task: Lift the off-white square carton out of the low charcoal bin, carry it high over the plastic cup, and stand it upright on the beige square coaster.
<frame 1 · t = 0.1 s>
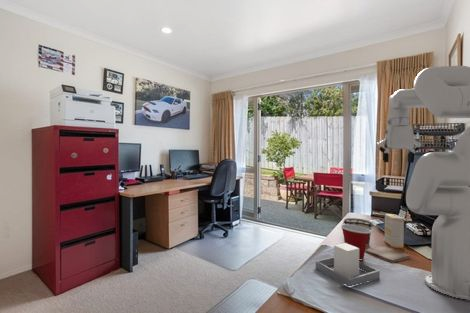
hand: (398, 162, 105), 37 cm above the table, tool pointing down, fingers open, 9 cm apart
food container: (357, 241, 113), on the table
plastic cup: (355, 258, 95), on the table
supplement box: (393, 245, 109), on the table
carton: (346, 260, 82), in the bin
bin: (346, 273, 82), on the table
beige square coaster: (387, 254, 98), on the table
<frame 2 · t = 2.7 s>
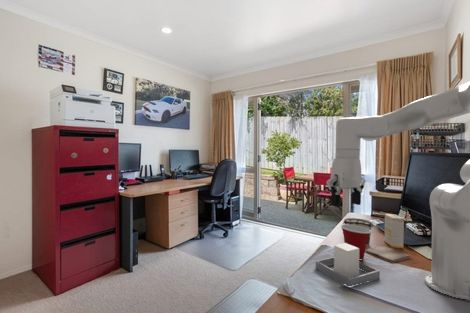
hand: (346, 205, 82), 23 cm above the table, tool pointing down, fingers open, 9 cm apart
nothing on the table moved.
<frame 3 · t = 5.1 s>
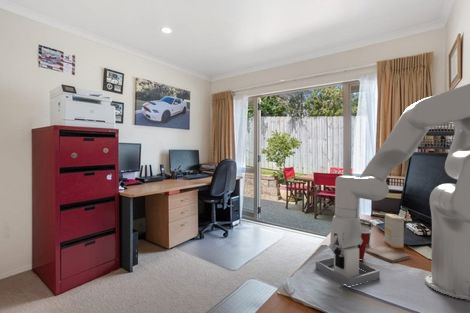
hand: (346, 264, 82), 3 cm above the table, tool pointing down, fingers closed on carton, 5 cm apart
carton: (346, 259, 82), in the bin, touching gripper
everything else where it was.
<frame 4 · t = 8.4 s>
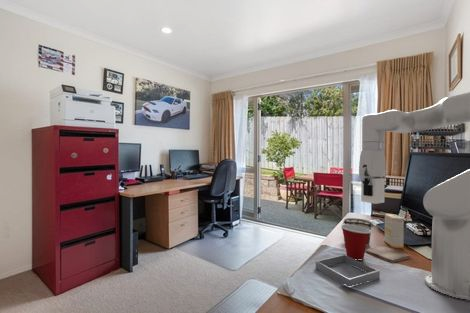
hand: (373, 194, 91), 25 cm above the table, tool pointing down, fingers closed on carton, 5 cm apart
carton: (372, 190, 91), point 27 cm above the table, touching gripper
everything else where it was.
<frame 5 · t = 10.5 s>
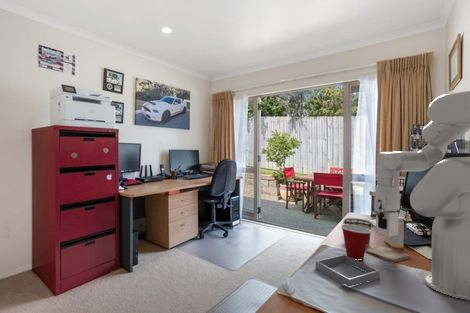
hand: (387, 226, 98), 11 cm above the table, tool pointing down, fingers closed on carton, 5 cm apart
carton: (387, 222, 98), point 13 cm above the table, touching gripper
everything else where it was.
when the fingers open (5 cm above the table, at t = 12.0 s): carton drops 1 cm, resting on beige square coaster.
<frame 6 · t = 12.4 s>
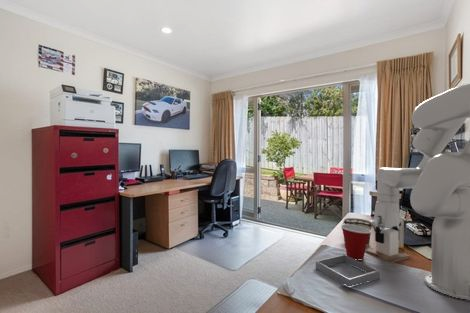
hand: (387, 240, 97), 6 cm above the table, tool pointing down, fingers open, 9 cm apart
carton: (387, 241, 98), on the beige square coaster, point 6 cm above the table
everything else where it was.
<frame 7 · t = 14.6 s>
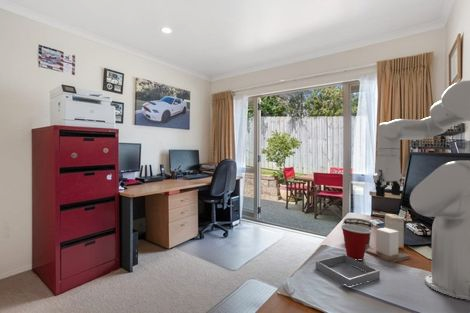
hand: (388, 195, 97), 24 cm above the table, tool pointing down, fingers open, 9 cm apart
nothing on the table moved.
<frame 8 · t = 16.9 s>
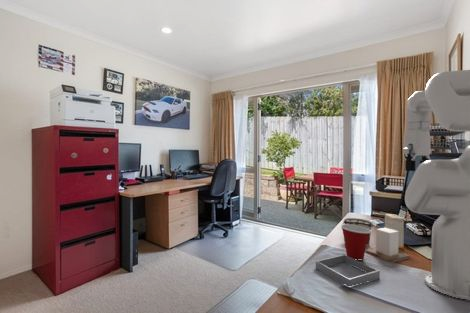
hand: (417, 170, 96), 34 cm above the table, tool pointing down, fingers open, 9 cm apart
nothing on the table moved.
at the end: carton inside the target area (0.1 cm from its centre), point 5.5 cm above the table; carton tilted 0°; the gripper is holding nothing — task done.
